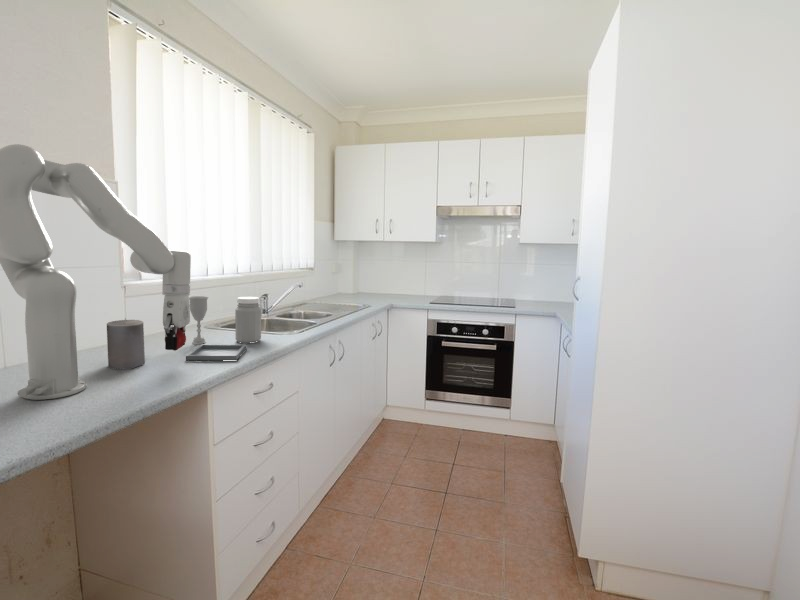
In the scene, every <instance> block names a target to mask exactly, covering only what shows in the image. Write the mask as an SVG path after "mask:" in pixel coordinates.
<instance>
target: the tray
mask: <svg viewBox="0 0 800 600" xmlns="http://www.w3.org/2000/svg"><path fill="white" fill-rule="evenodd" d="M245 350H246V351H247V344H222V343H221V344H220V343H219V344H217V343H213V344H210V343H209V344H206V343H204V344H198V346H197V347H195V348H194V349H192V350H190V352H189V353H187V354H186V355H185V362H186V361H223V360H237V359H238V358H239V357H240V355H241V354H242V353H243V352H244V351H245ZM246 351H245V352H246ZM245 352H244V353H245ZM244 353H243V354H244ZM243 354H242V355H243ZM240 358H241V357H240ZM240 358H239V359H240ZM239 359H238V360H239ZM238 360H237V361H238Z"/></svg>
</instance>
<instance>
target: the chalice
mask: <svg viewBox="0 0 800 600" xmlns="http://www.w3.org/2000/svg"><path fill="white" fill-rule="evenodd" d="M208 299H209V296H205V295H204V296H203V295H202V296H201V295H200V296H199V295H197V296H195V295H194V296H189V304H190V315H191V316H192V318H193V320H194V321H196V322H197V325H196V327H197V329H196V332H197V335H196V336H195V337H194V338H193V340H192V342H191V343H192V345H201V344H203V343H204V344H206V343H207V341H206V339H205V337H204V336H202V335H201V332H202V329H201V327H202V325H201V321H203V320H204V318H205V317H206V314H207V311H208Z"/></svg>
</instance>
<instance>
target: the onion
mask: <svg viewBox="0 0 800 600" xmlns="http://www.w3.org/2000/svg"><path fill="white" fill-rule="evenodd" d="M173 327H175V325H173ZM172 330H173V332H174V329H172ZM176 337H177V350H173V351H175V352H176V351H178V350H179V349H180V348H182V347H183V346H185V345H186V341H187V336H186V333H185V334H184V333H183V331H182V330H180V329H179V328H178V327H177V334H176ZM184 344H185V345H184Z"/></svg>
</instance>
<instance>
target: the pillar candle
mask: <svg viewBox="0 0 800 600" xmlns="http://www.w3.org/2000/svg"><path fill="white" fill-rule="evenodd" d="M144 329H145V328H144V321H142V320H140V319H126V317H125V318H124V319H121V320H114V321H113V320H112V321H109V322H107V323H106V341H107V342H106V343H107V365H108V368H109V369H111V368H112V369H111V370H128V369H130V368H131V369H134V368H137V367H141V366H143V365H145V363H146V360H145V359H146V358H145V357H146V355H145V334H144V333H145V331H144Z"/></svg>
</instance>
